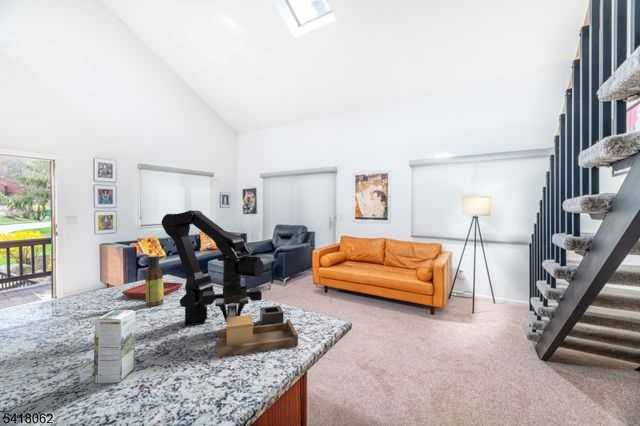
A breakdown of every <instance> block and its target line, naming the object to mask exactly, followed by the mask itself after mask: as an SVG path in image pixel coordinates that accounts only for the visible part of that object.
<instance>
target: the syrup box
mask: <svg viewBox="0 0 640 426" xmlns="http://www.w3.org/2000/svg"><path fill="white" fill-rule="evenodd" d="M136 314H137V313H136V310H129V309H119V310H117V309H115V310H110V311H109V312H108V313H105V314H103V315H101V316H100V317H97V318H96V319H94V339H93V340H94V341H93V347H94V348H93V382H92V383H93V384H111V383H112V384H114V383H121V382H122V381H123V380H125V378H126V377H127V376H129V374H130V373H131V372H132V371H133V370H135V363H136V362H135V357H136V356H135V354H136V350H135V349H136Z"/></svg>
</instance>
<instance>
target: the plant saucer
mask: <svg viewBox="0 0 640 426" xmlns="http://www.w3.org/2000/svg"><path fill="white" fill-rule="evenodd" d="M183 284H184V283H183V282H166V281H163V294H164V297H165V296H168V295H169V293H170V294H171V292H172V293H174V292H175V291H178V290H179V289H180V288H182V286H183ZM173 291H174V292H173ZM121 293H122V295H124V296H125V297H127V298H129V297H135V299H137V298H138V299H146V288H145V283H142V284H139V285H136V286H134V287H131V288H128V289H125V290H122V291H121Z"/></svg>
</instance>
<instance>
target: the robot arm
mask: <svg viewBox="0 0 640 426" xmlns="http://www.w3.org/2000/svg"><path fill="white" fill-rule="evenodd" d="M191 225H192V226H195V228H197V229H199V231H201V233H202V232H203V234H205V235H206V236H207V237H208V238H210V239H211V240H212V241H213V242H214V244H215V247H216V249H218V250H219V252H220V253H221V256H219V257H218V258H217V259H216V260H217V261H218V262H222V293H216V291H215V290H214V286H215V285H214V283H213V281H212V277H211V275H210V274H208V275H205V274H204V273H203V272H202V270H201V269H202V268H201V266H200V264H199V260H198V257H197V255H196V252H195V250H194V247H193V245H192V241H191V237H190V235H189V234H190V230H191ZM161 226H162V228H163V230H164V232H165V233H166V235H168V236H169V238H170V239H172V240H173V242H174V245H175V248H176V250H177V254H178V257H179V260H180V263H181V265H182V267H183V268H182V269H183V271H184V274H185V276H186V280H185V285H184V289H185V294H184V295H183V296H182V297H181V298H180V299H179V304H180V307H181V308H184V322H183V323H184V324H183V326H194V325H202V324H205V323H206V320H207V319H208V306H211V305H212V304H214V303H215V307H219V309H220V310H221V312H222V316H223V318H224V321H225V324H226V323H227V306H228V305H230V304H236V305H237V316H241V314H242V311H243V309H244V307H245V305H247V304H248V305H249V300H251V301H252V302H255V301H256V302H257V301H262V300H263V298H262V297H263V294H262V290H261V289H260V287H251V288H248V287H247V285H244V286H242V277H248V278H249V277H250V278H260V277H262V275H263V273H264V269H265V265H264V262H263V260H262V259H261V255H252V254H251V252H250V250H248V247H247V246H246V244H245V240H244V238H242V237H241V236H240V235H237V234H235V233H233V232H229V231H226V230H224V228H222V227H220V226H219V225H218V224H217V223H215V222H214V221H212V220H211V219H210V218H209V217H207V216H206V215H204V214H203V212H202V211H200V210H193V209H192V210H191V209H190V210H187V211H184V212H178V213H166V214H165V215H164V216H163V217H162V220H161Z"/></svg>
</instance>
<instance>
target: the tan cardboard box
mask: <svg viewBox="0 0 640 426" xmlns="http://www.w3.org/2000/svg"><path fill="white" fill-rule="evenodd" d="M225 324H226V326H225V327H226V329H225V330H227V346H233V345H240V344H247V343H253V326H254V321H253V317H252V314H246V315H245V314H244V315H240V316H234V317H227V323H226V322H225Z"/></svg>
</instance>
